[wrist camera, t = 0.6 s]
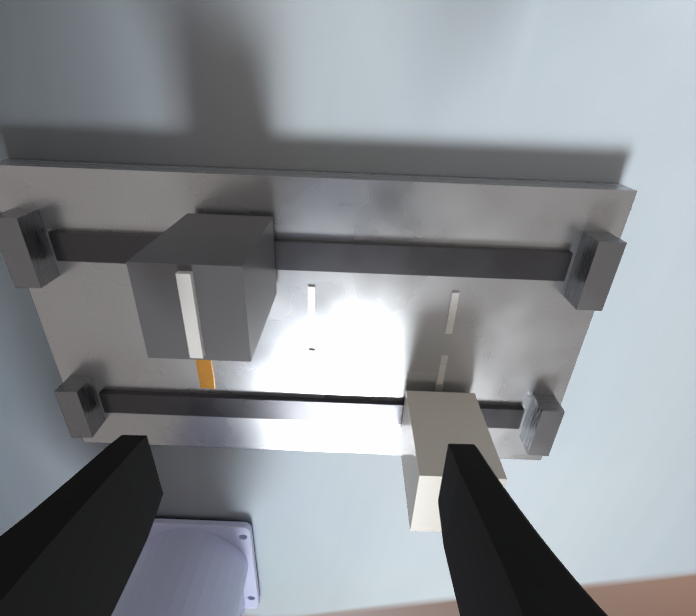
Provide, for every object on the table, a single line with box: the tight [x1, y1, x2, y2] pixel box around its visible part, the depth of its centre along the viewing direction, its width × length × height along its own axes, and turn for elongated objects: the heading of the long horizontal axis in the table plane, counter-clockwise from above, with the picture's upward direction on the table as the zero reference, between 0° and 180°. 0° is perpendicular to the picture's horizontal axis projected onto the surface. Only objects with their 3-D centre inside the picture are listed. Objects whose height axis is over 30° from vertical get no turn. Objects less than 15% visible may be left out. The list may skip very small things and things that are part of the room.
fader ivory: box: [400, 391, 507, 532], centre depth 18 cm, size 3×3×5 cm
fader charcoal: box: [126, 213, 277, 362], centre depth 14 cm, size 3×3×5 cm
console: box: [0, 159, 637, 460], centre depth 19 cm, size 14×24×2 cm, turn 88°
